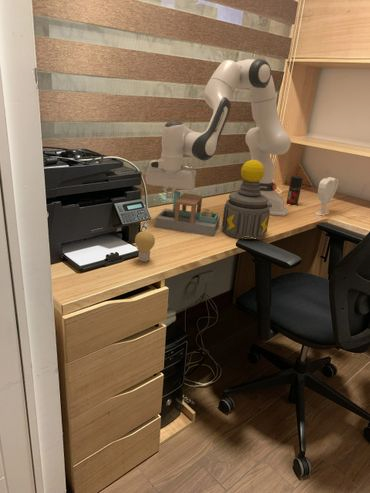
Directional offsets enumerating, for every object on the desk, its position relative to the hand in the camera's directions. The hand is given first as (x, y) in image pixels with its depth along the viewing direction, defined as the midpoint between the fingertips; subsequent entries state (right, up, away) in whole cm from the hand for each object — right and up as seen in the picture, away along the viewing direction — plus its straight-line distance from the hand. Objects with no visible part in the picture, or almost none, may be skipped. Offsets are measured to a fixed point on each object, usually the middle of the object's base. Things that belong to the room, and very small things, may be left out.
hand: (169, 197), depth 157 cm
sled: (+10, -8, 0) cm, 13 cm away
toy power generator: (+31, -15, +1) cm, 34 cm away
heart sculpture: (+77, -3, +38) cm, 86 cm away
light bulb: (-7, -25, -32) cm, 41 cm away
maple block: (+15, -9, -1) cm, 18 cm away
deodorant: (+64, +2, +49) cm, 81 cm away
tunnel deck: (+7, -12, +2) cm, 14 cm away
